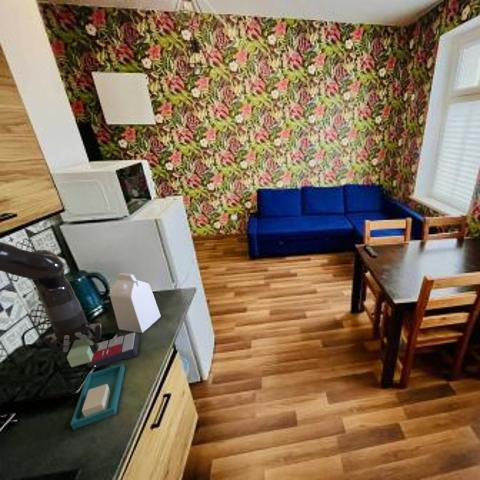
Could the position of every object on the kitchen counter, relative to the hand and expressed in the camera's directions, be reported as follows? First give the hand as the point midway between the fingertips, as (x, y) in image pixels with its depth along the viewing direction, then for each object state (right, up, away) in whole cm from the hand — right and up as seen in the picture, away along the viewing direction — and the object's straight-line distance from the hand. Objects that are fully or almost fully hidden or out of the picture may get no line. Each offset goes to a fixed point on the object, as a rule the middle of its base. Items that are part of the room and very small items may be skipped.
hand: (84, 354), depth 87 cm
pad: (+5, -16, 0) cm, 17 cm away
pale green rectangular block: (0, 0, 0) cm, 0 cm away
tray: (+3, -15, +3) cm, 16 cm away
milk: (-7, -1, +37) cm, 38 cm away
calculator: (-5, -8, +20) cm, 22 cm away
